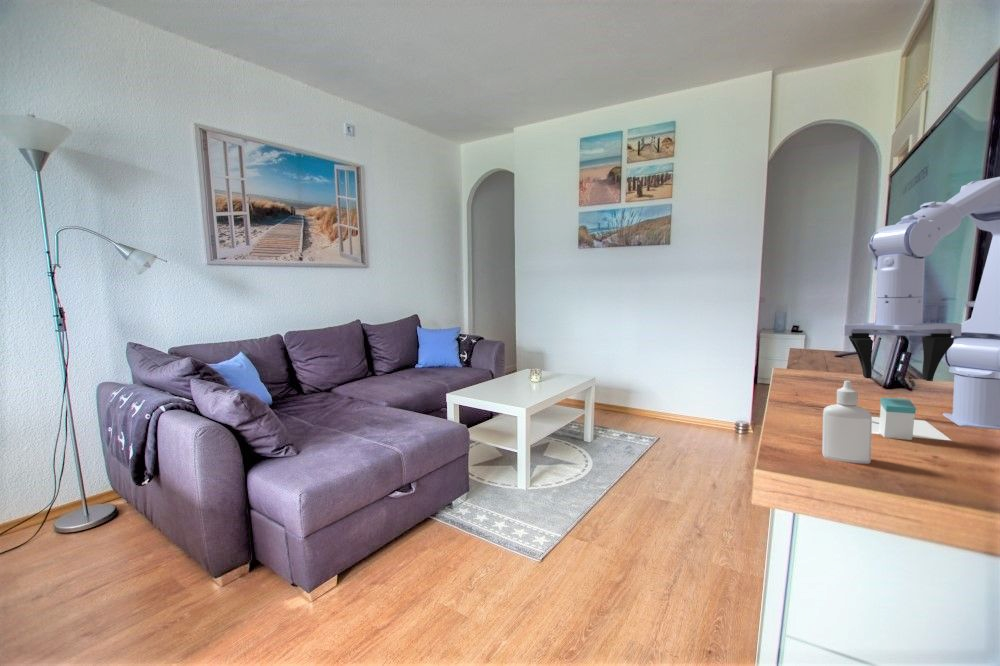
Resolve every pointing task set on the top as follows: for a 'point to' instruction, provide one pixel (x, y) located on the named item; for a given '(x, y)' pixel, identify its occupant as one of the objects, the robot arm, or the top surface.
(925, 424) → the paper
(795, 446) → the top surface
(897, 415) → the white and teal box
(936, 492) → the top surface
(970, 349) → the robot arm
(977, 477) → the top surface
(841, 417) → the eye dropper bottle
